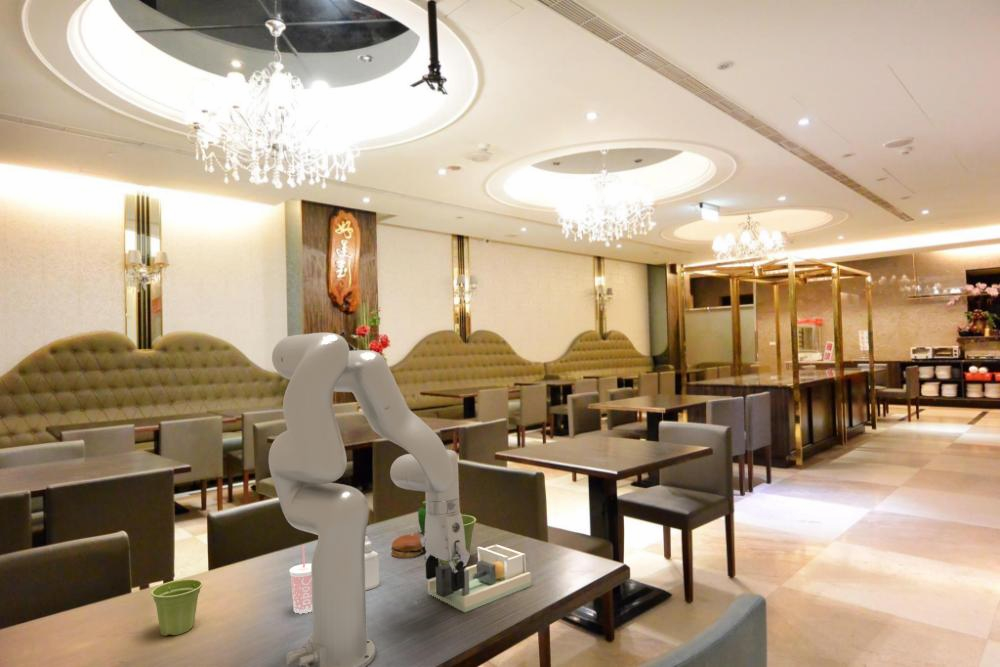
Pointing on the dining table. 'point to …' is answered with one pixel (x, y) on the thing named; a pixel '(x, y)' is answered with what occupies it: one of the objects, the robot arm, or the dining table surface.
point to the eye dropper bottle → (371, 566)
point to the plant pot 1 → (176, 605)
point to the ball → (499, 570)
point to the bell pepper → (422, 517)
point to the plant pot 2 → (466, 533)
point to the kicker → (483, 574)
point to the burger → (407, 546)
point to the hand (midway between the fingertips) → (444, 583)
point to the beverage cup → (301, 586)
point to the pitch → (483, 592)
